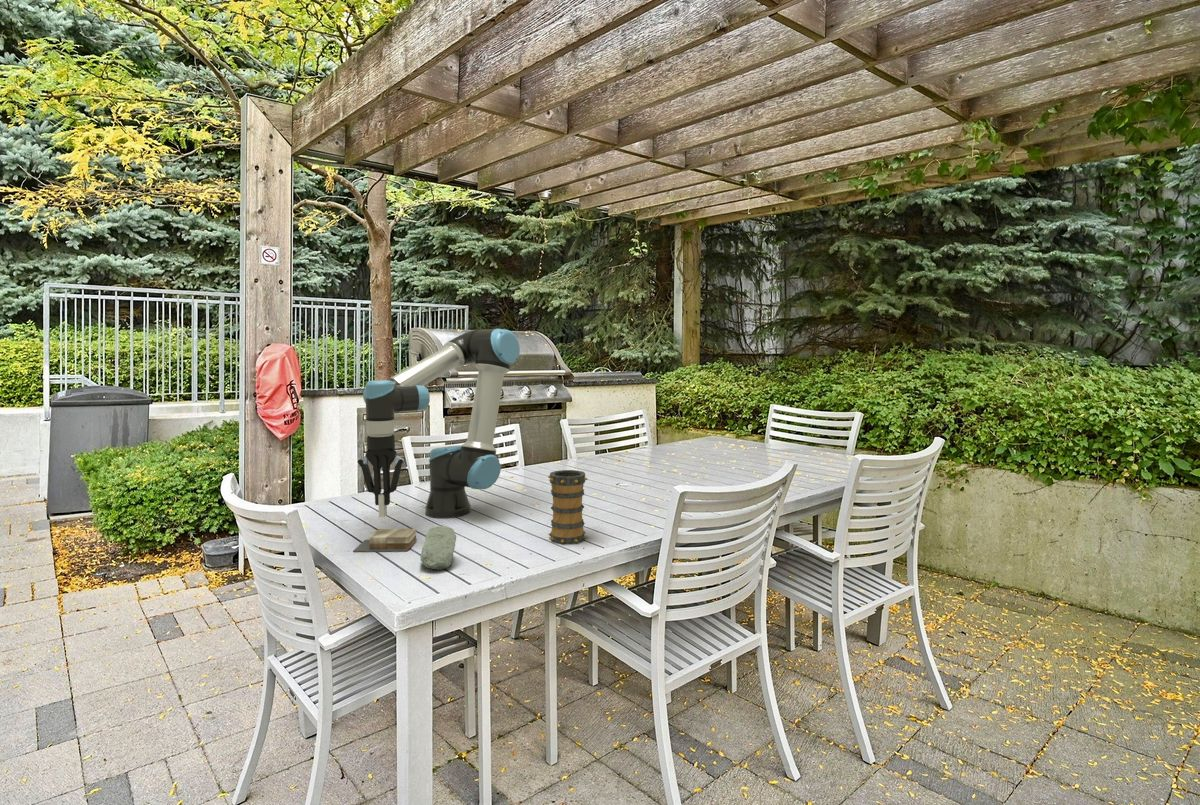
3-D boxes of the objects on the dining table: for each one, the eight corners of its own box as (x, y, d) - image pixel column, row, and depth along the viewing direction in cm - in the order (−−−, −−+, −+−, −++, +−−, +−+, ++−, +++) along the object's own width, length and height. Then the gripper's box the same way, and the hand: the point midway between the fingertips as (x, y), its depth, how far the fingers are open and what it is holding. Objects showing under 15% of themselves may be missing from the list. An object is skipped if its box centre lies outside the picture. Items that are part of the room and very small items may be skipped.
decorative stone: (432, 553, 174) (414, 530, 169) (467, 540, 173) (450, 517, 168) (427, 590, 164) (408, 568, 158) (465, 577, 163) (447, 554, 157)
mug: (540, 543, 183) (540, 476, 181) (557, 527, 200) (557, 465, 198) (582, 547, 180) (582, 479, 178) (596, 530, 197) (597, 467, 195)
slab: (378, 540, 184) (416, 540, 185) (369, 549, 176) (409, 549, 177) (378, 529, 184) (416, 528, 184) (369, 537, 176) (408, 537, 176)
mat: (416, 540, 186) (416, 539, 186) (407, 551, 176) (407, 550, 176) (365, 541, 185) (365, 539, 185) (353, 552, 175) (353, 550, 175)
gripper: (407, 432, 181) (409, 512, 184) (362, 433, 181) (364, 512, 183) (400, 436, 174) (402, 519, 176) (352, 436, 173) (355, 519, 176)
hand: (383, 516), depth 180 cm, fingers closed
